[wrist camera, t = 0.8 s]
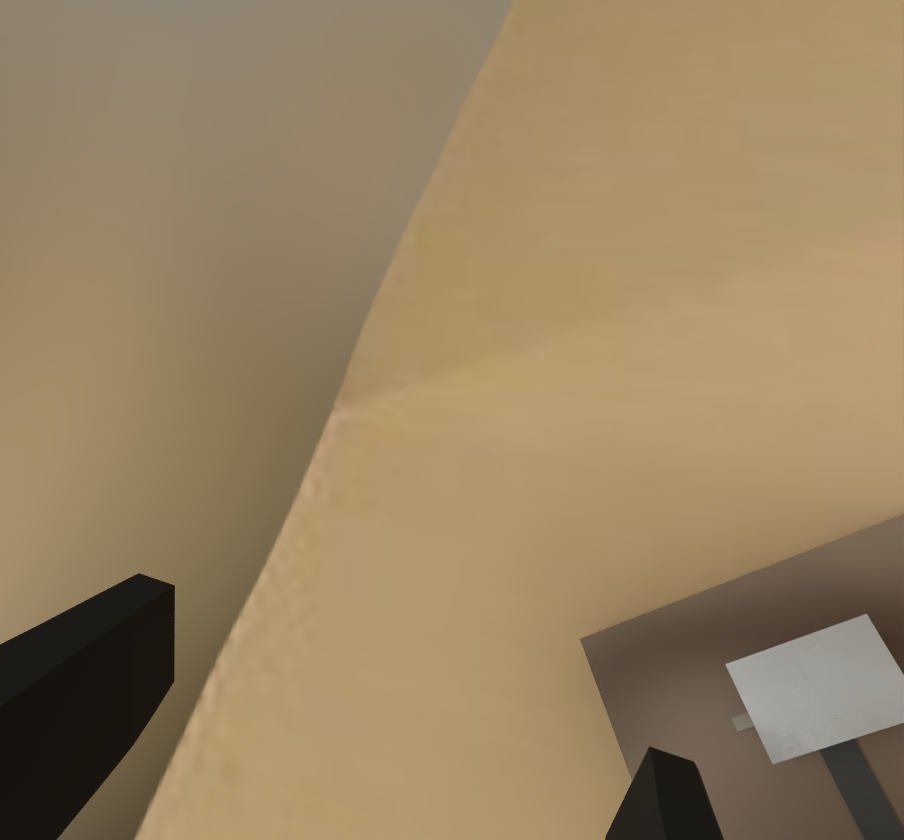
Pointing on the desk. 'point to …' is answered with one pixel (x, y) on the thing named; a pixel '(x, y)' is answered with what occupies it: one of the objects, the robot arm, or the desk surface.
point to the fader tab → (821, 689)
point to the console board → (722, 710)
